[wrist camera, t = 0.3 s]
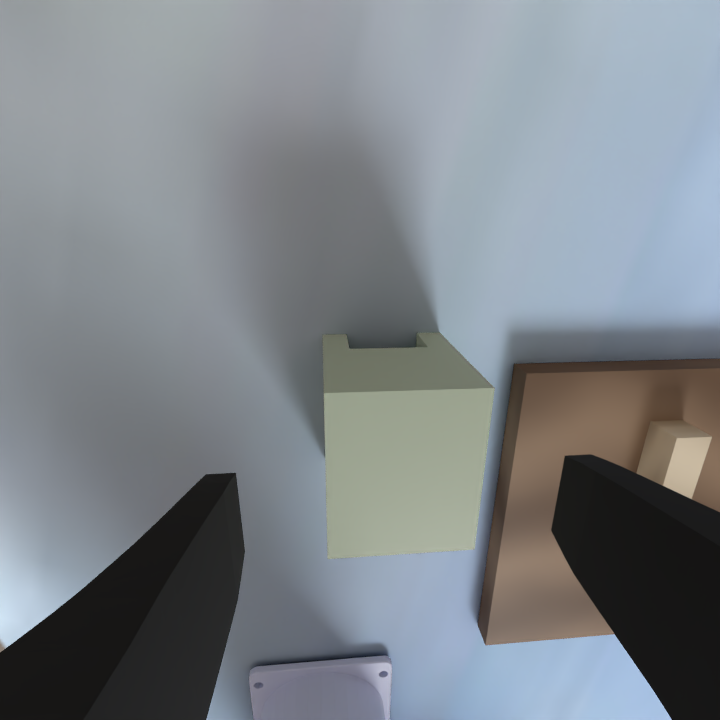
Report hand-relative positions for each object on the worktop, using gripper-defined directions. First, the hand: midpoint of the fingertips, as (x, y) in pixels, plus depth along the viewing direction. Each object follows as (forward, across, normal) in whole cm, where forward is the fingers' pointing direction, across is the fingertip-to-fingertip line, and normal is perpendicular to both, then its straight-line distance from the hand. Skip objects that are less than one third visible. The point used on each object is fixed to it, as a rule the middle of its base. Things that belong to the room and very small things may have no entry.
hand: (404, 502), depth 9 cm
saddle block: (+10, -1, +2) cm, 10 cm away
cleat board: (+9, -14, +8) cm, 19 cm away
